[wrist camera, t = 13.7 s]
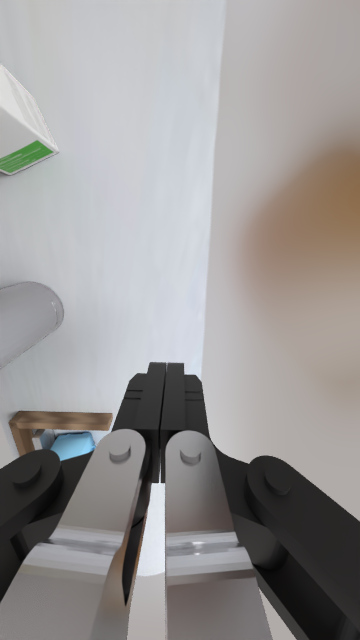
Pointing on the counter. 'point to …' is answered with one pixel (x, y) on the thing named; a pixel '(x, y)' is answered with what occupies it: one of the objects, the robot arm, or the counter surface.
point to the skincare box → (21, 127)
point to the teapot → (73, 445)
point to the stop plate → (43, 439)
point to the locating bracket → (53, 424)
